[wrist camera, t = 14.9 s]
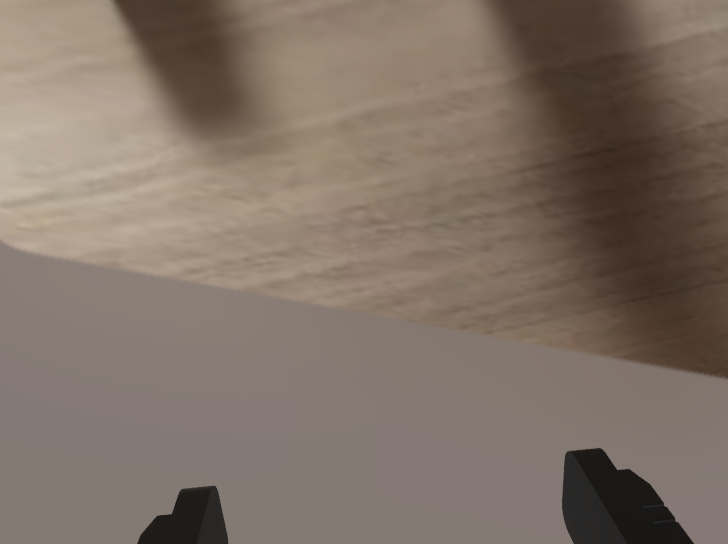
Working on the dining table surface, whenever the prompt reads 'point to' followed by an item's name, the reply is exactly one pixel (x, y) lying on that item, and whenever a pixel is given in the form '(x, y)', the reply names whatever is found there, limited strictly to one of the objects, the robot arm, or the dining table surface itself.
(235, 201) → the dining table surface
